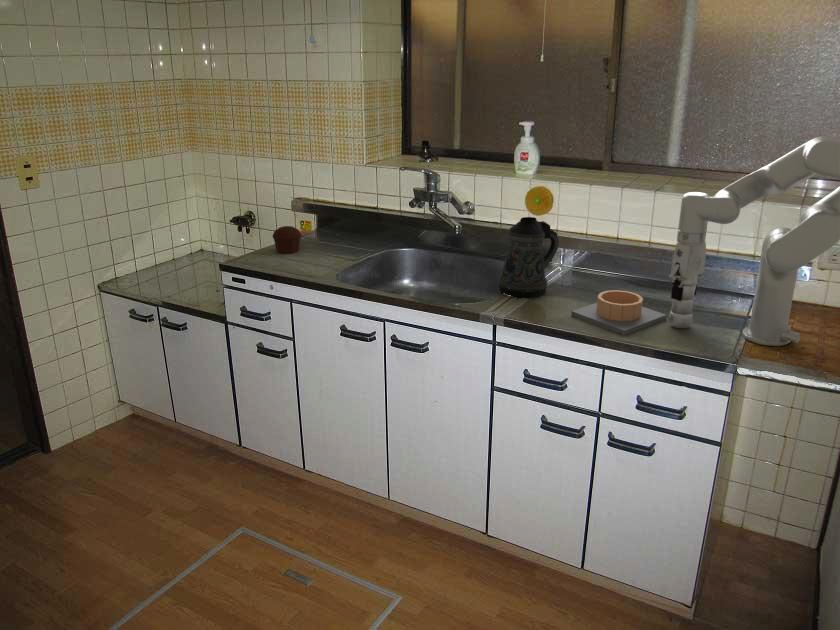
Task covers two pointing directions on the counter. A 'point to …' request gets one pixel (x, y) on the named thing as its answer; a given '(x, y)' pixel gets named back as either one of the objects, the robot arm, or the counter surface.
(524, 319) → the counter surface
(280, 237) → the muffin
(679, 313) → the plastic bottle
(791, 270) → the robot arm
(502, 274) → the beer stein
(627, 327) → the duct base
